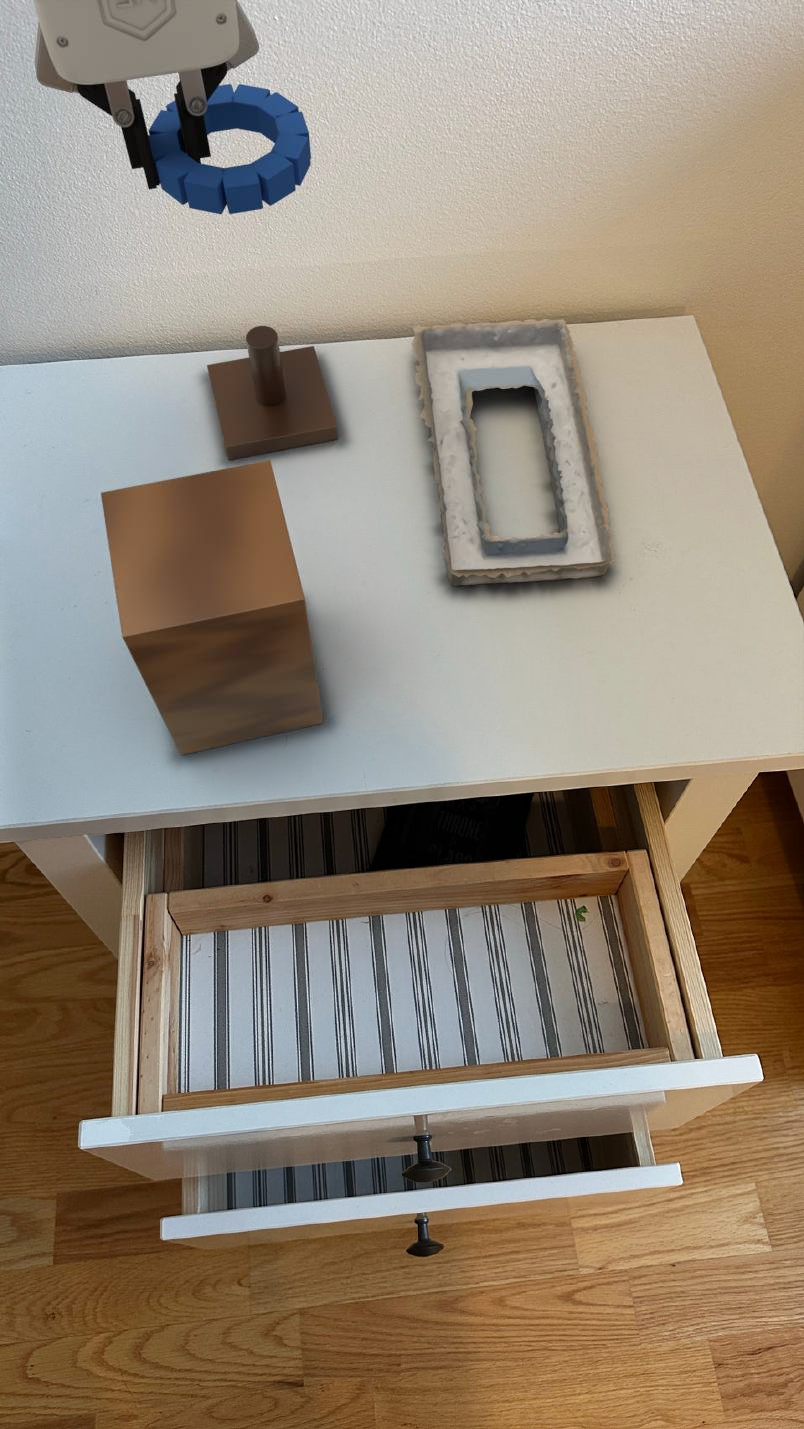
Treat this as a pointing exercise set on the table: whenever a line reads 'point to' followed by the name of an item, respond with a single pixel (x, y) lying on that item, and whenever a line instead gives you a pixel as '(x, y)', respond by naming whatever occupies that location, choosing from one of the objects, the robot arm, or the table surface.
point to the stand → (214, 605)
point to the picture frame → (548, 364)
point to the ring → (238, 183)
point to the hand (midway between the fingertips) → (173, 168)
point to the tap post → (271, 398)
